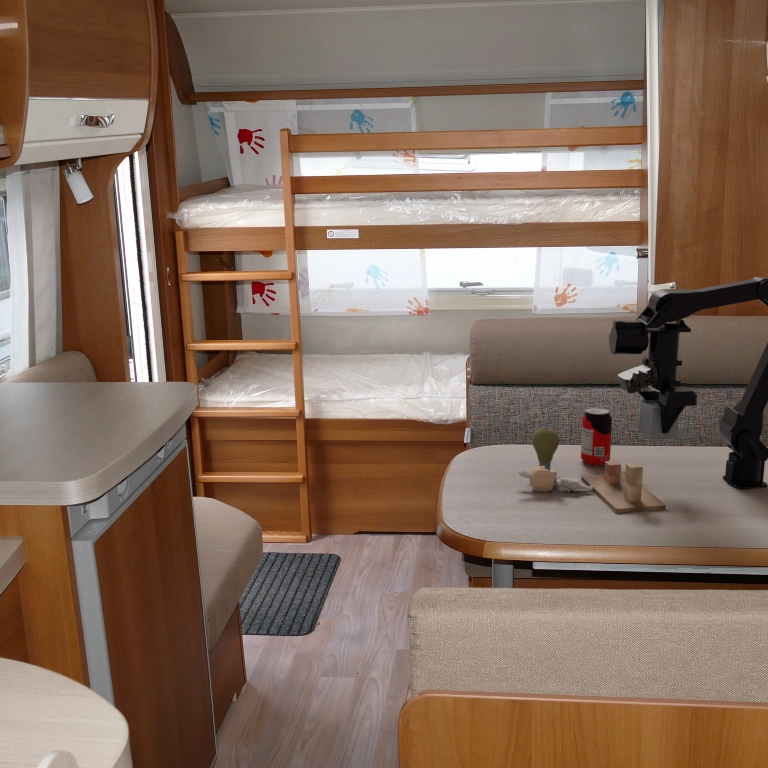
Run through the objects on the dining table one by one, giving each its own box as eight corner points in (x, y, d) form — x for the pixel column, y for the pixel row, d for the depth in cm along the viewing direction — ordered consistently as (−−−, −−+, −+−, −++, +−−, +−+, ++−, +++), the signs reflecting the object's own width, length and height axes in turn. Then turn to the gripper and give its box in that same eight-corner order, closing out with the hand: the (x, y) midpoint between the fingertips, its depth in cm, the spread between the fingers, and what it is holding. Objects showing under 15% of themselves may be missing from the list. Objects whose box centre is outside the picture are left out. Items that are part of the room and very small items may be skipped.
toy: (598, 479, 166) (523, 463, 167) (592, 506, 166) (517, 489, 167) (590, 474, 176) (519, 459, 177) (584, 499, 176) (513, 483, 177)
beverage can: (613, 466, 185) (615, 414, 182) (584, 467, 185) (586, 414, 182) (606, 457, 191) (608, 406, 188) (578, 457, 191) (579, 406, 188)
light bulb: (557, 477, 179) (559, 432, 177) (531, 476, 180) (532, 431, 178) (557, 468, 185) (559, 424, 182) (532, 467, 186) (533, 423, 183)
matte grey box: (664, 429, 175) (666, 399, 173) (677, 438, 170) (679, 406, 168) (638, 431, 174) (640, 400, 173) (650, 439, 169) (652, 407, 167)
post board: (626, 476, 179) (628, 441, 177) (665, 509, 162) (668, 470, 160) (581, 479, 178) (582, 444, 176) (616, 512, 160) (618, 474, 158)
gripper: (606, 346, 176) (602, 418, 180) (645, 366, 158) (640, 445, 162) (656, 344, 177) (652, 415, 181) (701, 363, 159) (695, 442, 163)
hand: (658, 428), depth 172 cm, fingers closed on matte grey box, 6 cm apart
